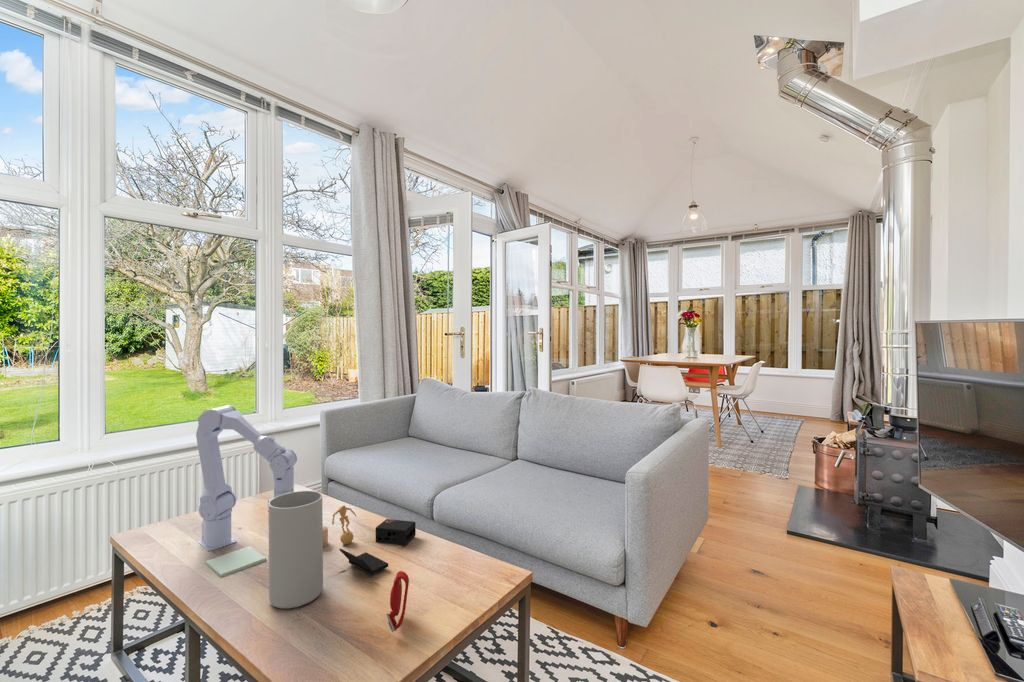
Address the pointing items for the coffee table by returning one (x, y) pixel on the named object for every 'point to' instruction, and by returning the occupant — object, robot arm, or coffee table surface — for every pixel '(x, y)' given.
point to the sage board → (235, 561)
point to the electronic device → (395, 532)
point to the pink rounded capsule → (325, 536)
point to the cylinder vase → (295, 548)
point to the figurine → (346, 535)
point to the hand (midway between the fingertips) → (283, 531)
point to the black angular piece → (366, 562)
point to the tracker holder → (397, 600)
